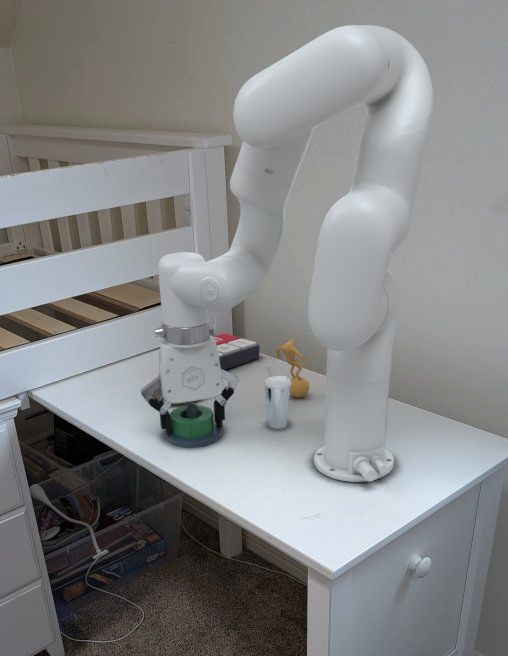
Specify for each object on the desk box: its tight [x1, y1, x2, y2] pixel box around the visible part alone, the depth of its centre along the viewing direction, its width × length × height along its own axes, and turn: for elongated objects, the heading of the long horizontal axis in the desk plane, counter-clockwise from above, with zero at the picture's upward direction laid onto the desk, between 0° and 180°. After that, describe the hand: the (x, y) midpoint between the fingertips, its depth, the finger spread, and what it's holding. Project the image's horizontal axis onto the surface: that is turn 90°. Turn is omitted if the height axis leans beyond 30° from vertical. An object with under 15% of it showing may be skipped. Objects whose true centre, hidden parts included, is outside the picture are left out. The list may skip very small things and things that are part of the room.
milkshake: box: [264, 366, 291, 430], centre depth 130 cm, size 4×5×10 cm
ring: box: [169, 404, 215, 439], centre depth 129 cm, size 7×7×3 cm
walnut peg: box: [152, 387, 200, 407], centre depth 144 cm, size 10×10×6 cm
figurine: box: [276, 338, 312, 398], centre depth 140 cm, size 8×6×12 cm
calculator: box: [213, 333, 261, 371], centre depth 160 cm, size 11×4×15 cm
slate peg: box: [164, 402, 223, 448], centre depth 129 cm, size 10×10×6 cm
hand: (193, 427), depth 130 cm, fingers open, 8 cm apart
